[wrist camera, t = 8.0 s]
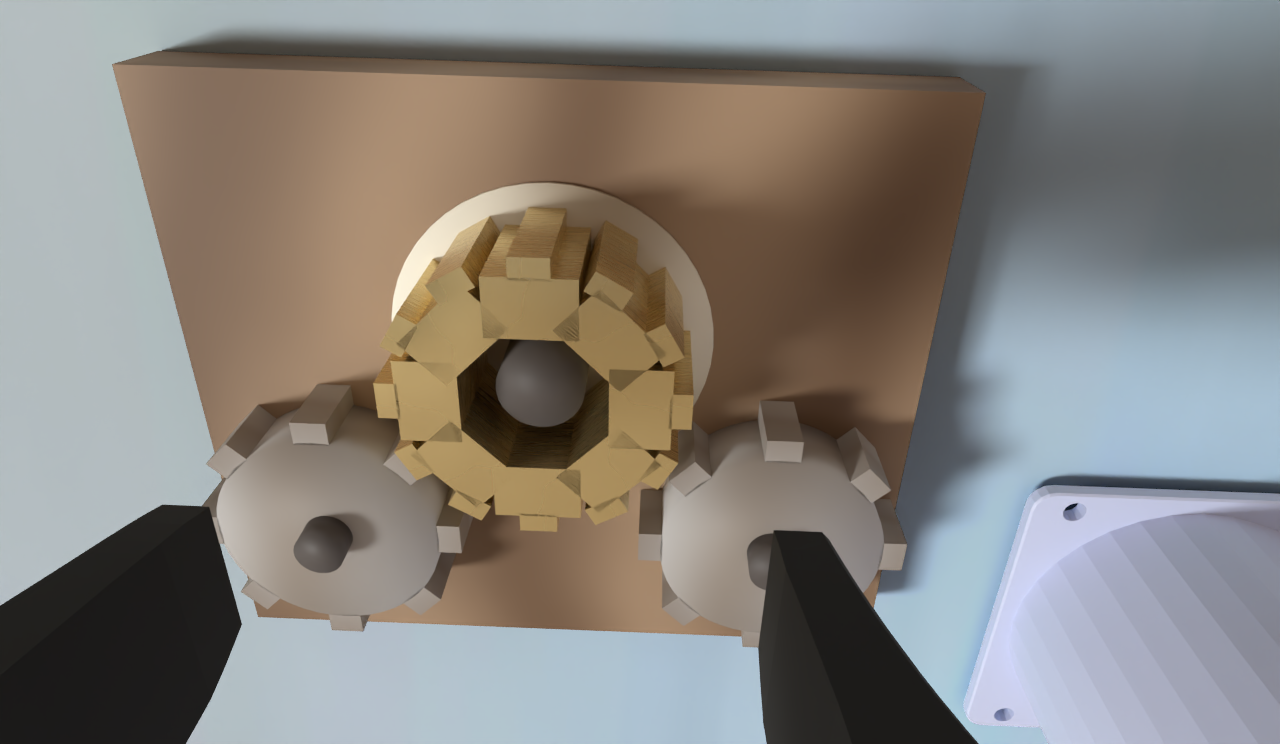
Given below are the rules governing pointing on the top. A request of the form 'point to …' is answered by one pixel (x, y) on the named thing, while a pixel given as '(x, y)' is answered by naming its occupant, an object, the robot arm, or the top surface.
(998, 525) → the top surface
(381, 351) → the gear board
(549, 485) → the brass gear
